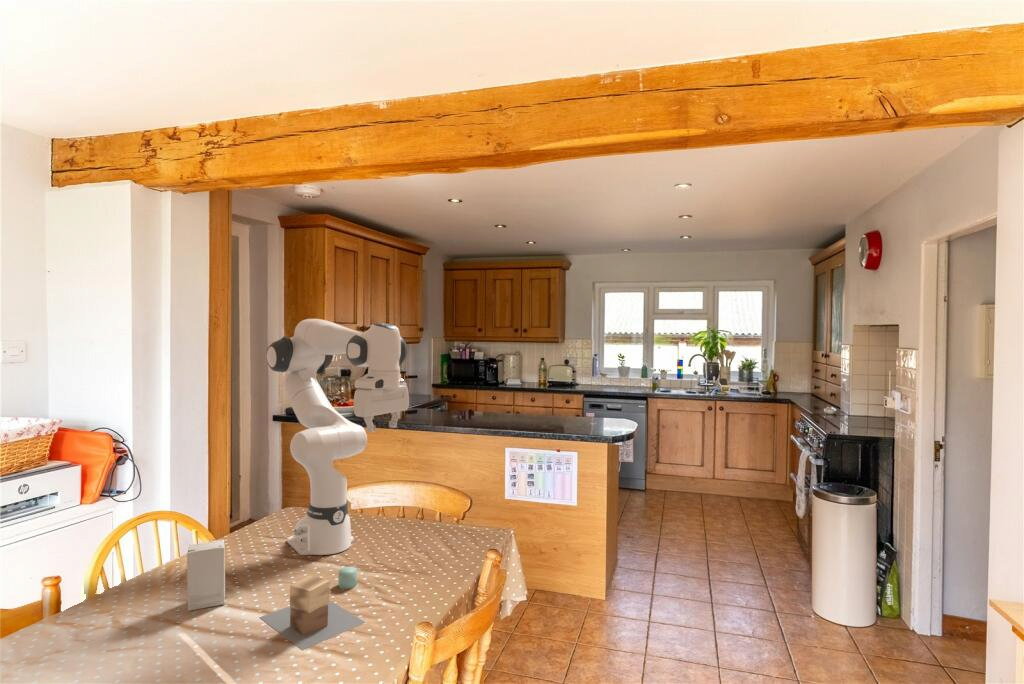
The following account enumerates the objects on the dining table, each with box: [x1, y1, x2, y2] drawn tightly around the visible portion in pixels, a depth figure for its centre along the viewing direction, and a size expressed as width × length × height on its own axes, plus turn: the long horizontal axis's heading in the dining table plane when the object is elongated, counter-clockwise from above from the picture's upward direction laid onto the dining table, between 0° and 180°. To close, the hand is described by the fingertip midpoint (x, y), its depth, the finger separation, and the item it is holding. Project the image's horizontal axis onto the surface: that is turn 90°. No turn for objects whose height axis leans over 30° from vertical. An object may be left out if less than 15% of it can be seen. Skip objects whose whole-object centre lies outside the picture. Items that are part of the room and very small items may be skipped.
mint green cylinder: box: [338, 566, 358, 590], centre depth 149 cm, size 5×5×5 cm
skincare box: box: [186, 539, 226, 612], centre depth 138 cm, size 8×6×15 cm
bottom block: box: [290, 603, 328, 636], centre depth 127 cm, size 6×6×5 cm
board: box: [258, 599, 367, 651], centre depth 130 cm, size 20×16×1 cm
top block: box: [289, 574, 330, 613], centre depth 127 cm, size 6×6×5 cm
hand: (382, 429), depth 155 cm, fingers open, 8 cm apart
